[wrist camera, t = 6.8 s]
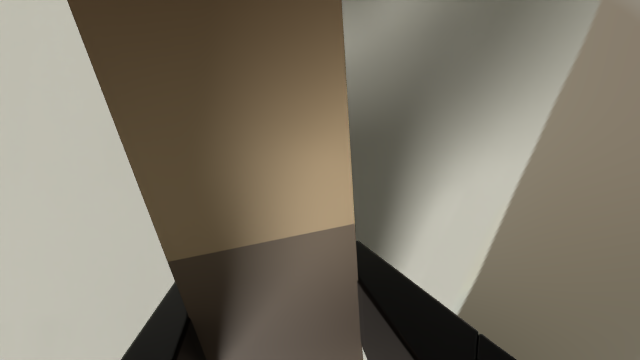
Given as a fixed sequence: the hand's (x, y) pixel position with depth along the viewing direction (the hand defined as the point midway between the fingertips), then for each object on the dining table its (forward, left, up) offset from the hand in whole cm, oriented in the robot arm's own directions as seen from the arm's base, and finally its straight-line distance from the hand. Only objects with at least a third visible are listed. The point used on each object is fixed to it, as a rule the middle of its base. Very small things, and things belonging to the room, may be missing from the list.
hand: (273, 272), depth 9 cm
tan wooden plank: (+3, 0, -2) cm, 3 cm away
